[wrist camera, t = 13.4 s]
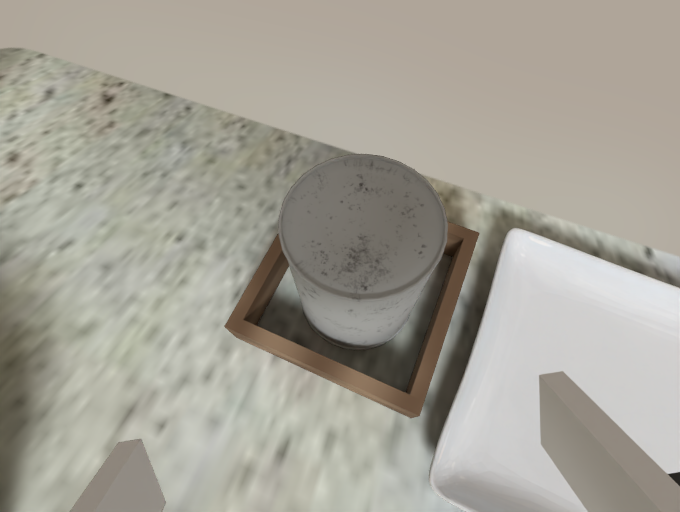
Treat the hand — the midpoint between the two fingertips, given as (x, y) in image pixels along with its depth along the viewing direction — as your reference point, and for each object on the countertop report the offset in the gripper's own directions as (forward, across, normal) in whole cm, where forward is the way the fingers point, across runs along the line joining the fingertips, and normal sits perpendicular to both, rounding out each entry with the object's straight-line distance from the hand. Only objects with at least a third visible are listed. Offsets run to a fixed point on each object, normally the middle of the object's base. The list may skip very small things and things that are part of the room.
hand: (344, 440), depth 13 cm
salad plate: (+14, +18, -13) cm, 26 cm away
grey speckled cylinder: (+20, +1, -3) cm, 21 cm away
